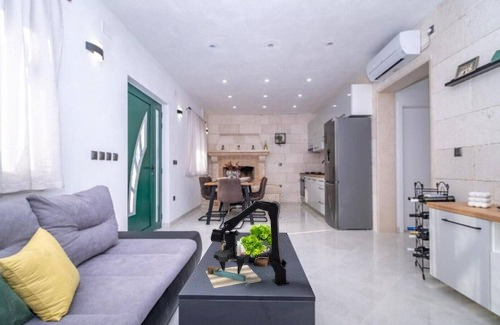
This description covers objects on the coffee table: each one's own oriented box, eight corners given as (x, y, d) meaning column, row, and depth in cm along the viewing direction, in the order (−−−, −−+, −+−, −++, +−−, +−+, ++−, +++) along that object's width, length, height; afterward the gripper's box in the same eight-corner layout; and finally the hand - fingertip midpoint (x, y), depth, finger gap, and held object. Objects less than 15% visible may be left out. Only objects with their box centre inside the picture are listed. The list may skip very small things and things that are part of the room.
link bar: (246, 279, 128) (246, 275, 128) (243, 281, 126) (243, 277, 126) (217, 272, 137) (217, 268, 137) (213, 274, 135) (213, 270, 135)
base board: (261, 281, 128) (261, 279, 128) (214, 289, 120) (214, 287, 120) (247, 266, 148) (247, 265, 148) (205, 272, 139) (205, 271, 139)
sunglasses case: (268, 267, 146) (262, 256, 147) (257, 272, 147) (251, 262, 148) (271, 256, 164) (266, 247, 164) (262, 261, 165) (257, 252, 166)
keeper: (219, 274, 135) (219, 267, 135) (216, 276, 133) (216, 269, 133) (210, 271, 138) (210, 265, 138) (207, 273, 136) (207, 267, 136)
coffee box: (220, 259, 160) (220, 233, 161) (229, 256, 165) (228, 231, 165) (229, 262, 153) (229, 235, 154) (237, 260, 158) (237, 234, 158)
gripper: (206, 244, 131) (207, 275, 131) (238, 250, 123) (238, 282, 122) (219, 239, 141) (219, 267, 141) (249, 243, 133) (249, 273, 132)
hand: (231, 272), depth 134 cm, fingers open, 9 cm apart
